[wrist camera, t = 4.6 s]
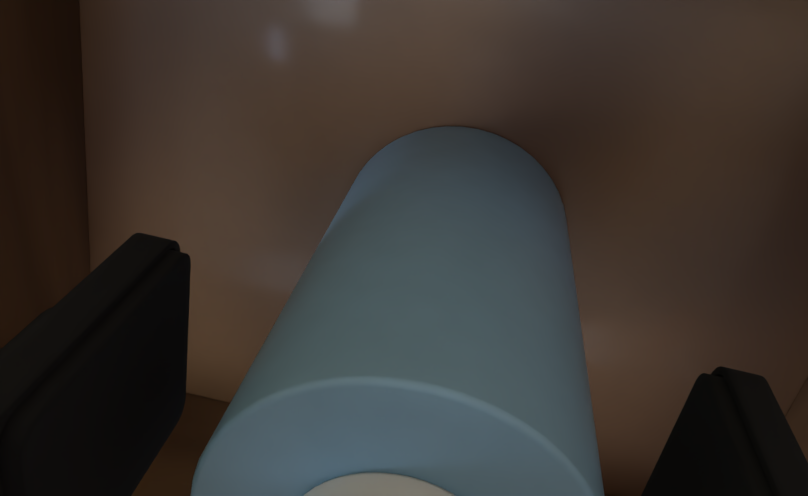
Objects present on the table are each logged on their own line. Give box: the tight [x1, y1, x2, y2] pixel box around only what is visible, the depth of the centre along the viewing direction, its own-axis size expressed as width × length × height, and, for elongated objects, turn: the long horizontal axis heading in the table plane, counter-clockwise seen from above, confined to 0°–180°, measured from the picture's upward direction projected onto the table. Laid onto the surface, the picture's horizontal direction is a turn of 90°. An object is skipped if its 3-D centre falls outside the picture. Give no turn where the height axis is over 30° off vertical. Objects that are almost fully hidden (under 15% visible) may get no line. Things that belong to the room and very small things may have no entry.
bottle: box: [190, 126, 605, 496], centre depth 10 cm, size 5×5×10 cm
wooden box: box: [0, 0, 808, 496], centre depth 13 cm, size 17×13×5 cm
